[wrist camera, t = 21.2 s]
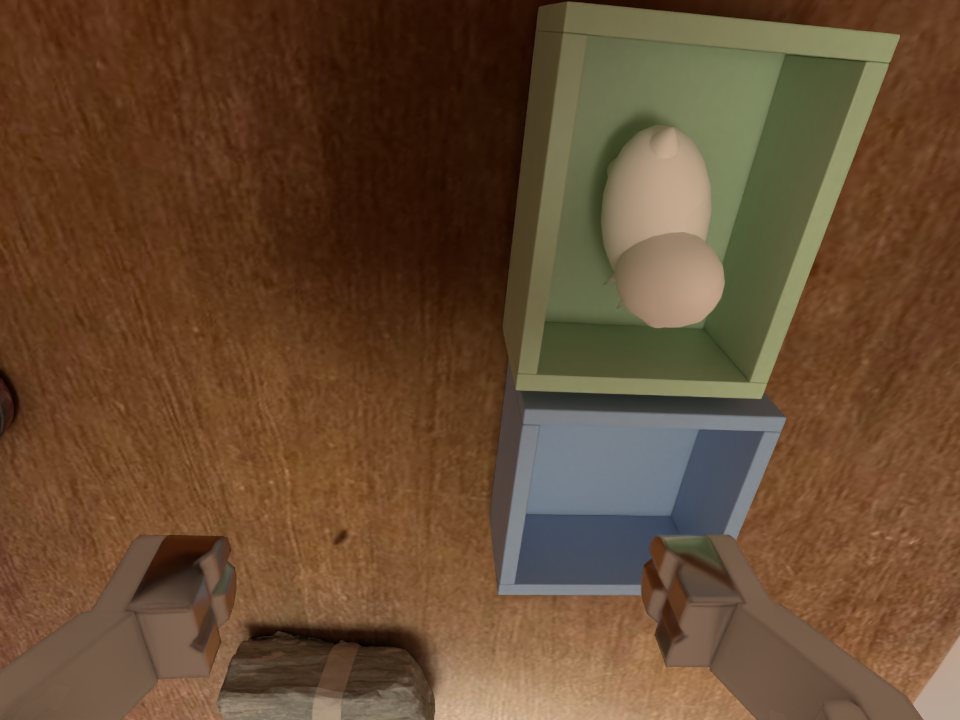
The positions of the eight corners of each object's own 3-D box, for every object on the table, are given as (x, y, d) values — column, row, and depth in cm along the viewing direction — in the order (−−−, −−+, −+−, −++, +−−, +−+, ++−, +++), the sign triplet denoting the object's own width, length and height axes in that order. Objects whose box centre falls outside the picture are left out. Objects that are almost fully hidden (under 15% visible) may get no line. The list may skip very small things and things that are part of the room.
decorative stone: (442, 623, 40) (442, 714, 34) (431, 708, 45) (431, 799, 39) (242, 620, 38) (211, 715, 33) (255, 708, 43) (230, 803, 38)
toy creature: (589, 301, 28) (626, 369, 22) (583, 121, 24) (628, 150, 18) (685, 287, 28) (747, 352, 22) (697, 105, 23) (775, 129, 18)
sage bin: (538, 6, 22) (566, 1, 17) (803, 32, 23) (901, 34, 18) (501, 329, 29) (515, 390, 24) (708, 338, 30) (761, 399, 25)
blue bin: (510, 345, 29) (524, 409, 24) (731, 354, 30) (787, 417, 25) (489, 516, 35) (497, 595, 30) (676, 518, 36) (713, 595, 31)
